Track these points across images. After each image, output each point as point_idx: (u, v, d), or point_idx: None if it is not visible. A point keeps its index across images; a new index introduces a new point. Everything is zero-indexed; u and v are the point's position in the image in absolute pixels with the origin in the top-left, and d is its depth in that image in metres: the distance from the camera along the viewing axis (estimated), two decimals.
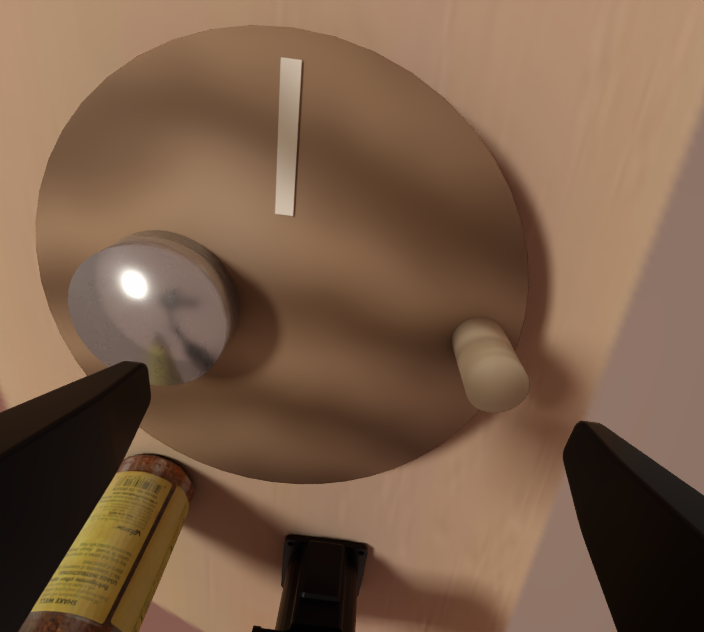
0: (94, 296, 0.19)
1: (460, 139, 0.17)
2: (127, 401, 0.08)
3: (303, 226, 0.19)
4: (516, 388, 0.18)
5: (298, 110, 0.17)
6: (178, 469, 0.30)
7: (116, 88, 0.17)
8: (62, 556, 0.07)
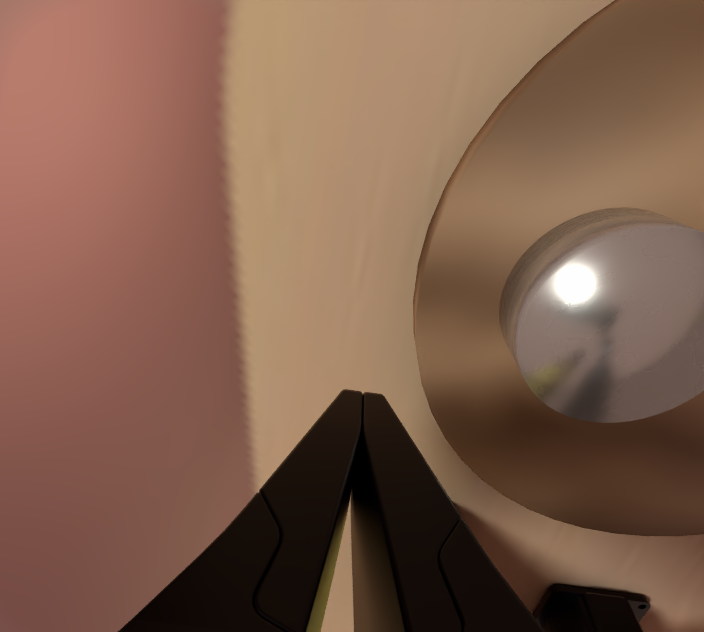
0: (573, 301, 0.13)
1: None
2: None
3: None
4: None
5: None
6: None
7: None
8: (328, 591, 0.07)
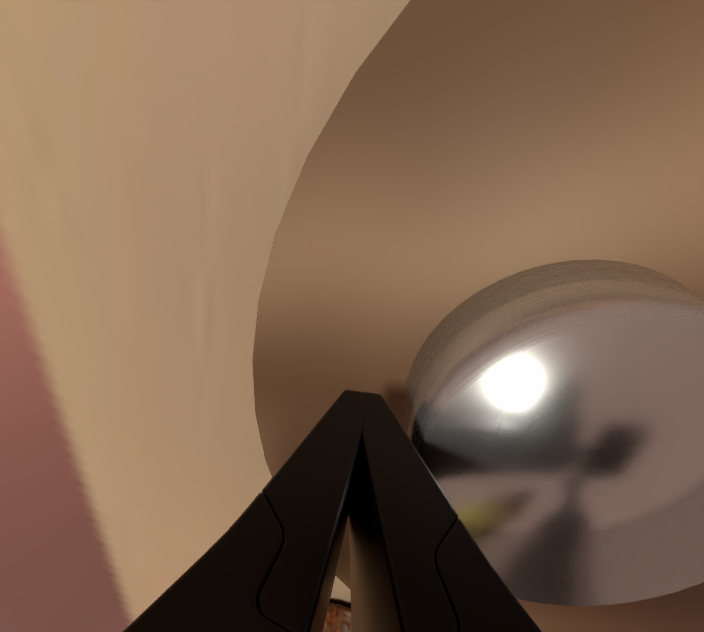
0: (500, 435, 0.07)
1: None
2: None
3: None
4: None
5: None
6: None
7: None
8: (330, 591, 0.07)
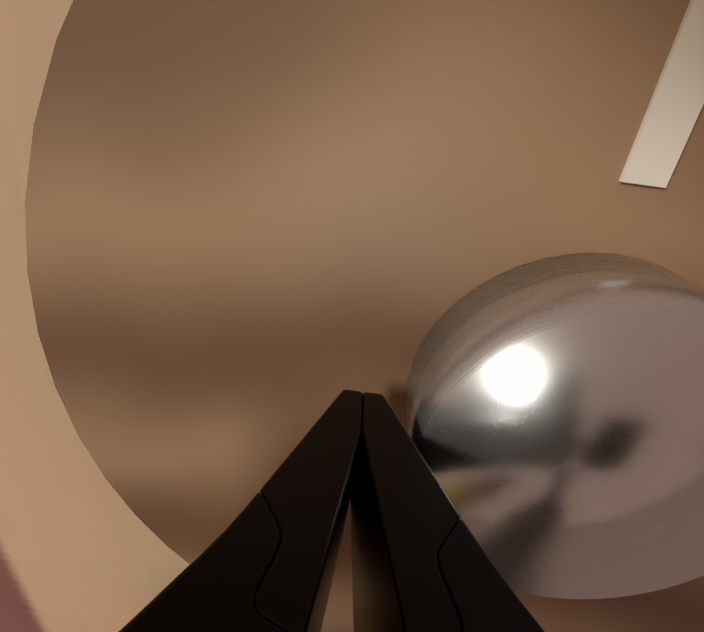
0: (499, 428, 0.07)
1: None
2: None
3: (677, 214, 0.08)
4: None
5: None
6: None
7: None
8: (329, 591, 0.07)
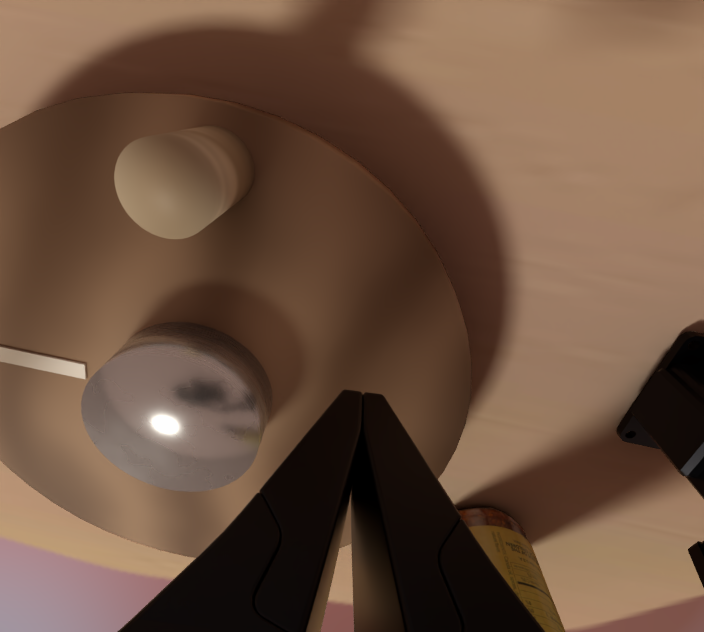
0: (147, 464, 0.18)
1: None
2: None
3: (95, 356, 0.18)
4: (160, 158, 0.11)
5: None
6: None
7: (12, 462, 0.22)
8: (328, 591, 0.07)
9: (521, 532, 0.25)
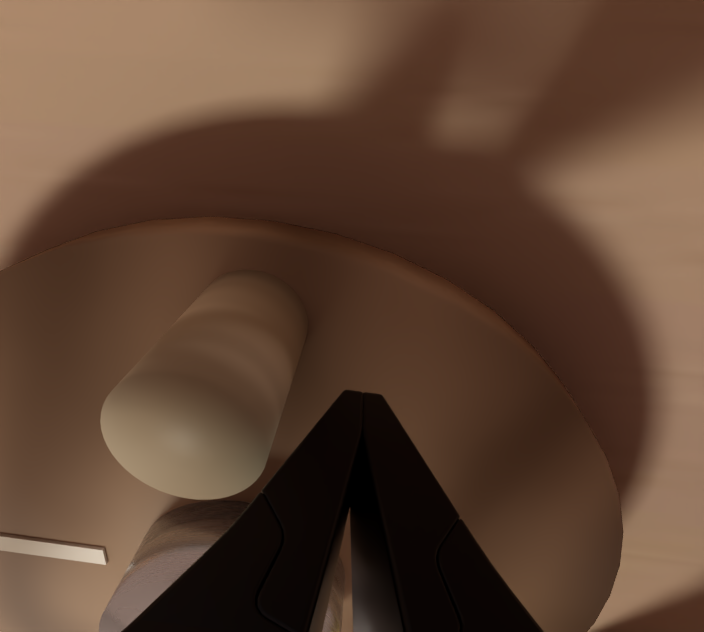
0: None
1: None
2: None
3: (115, 540, 0.14)
4: (172, 400, 0.06)
5: None
6: None
7: None
8: (330, 591, 0.07)
9: None
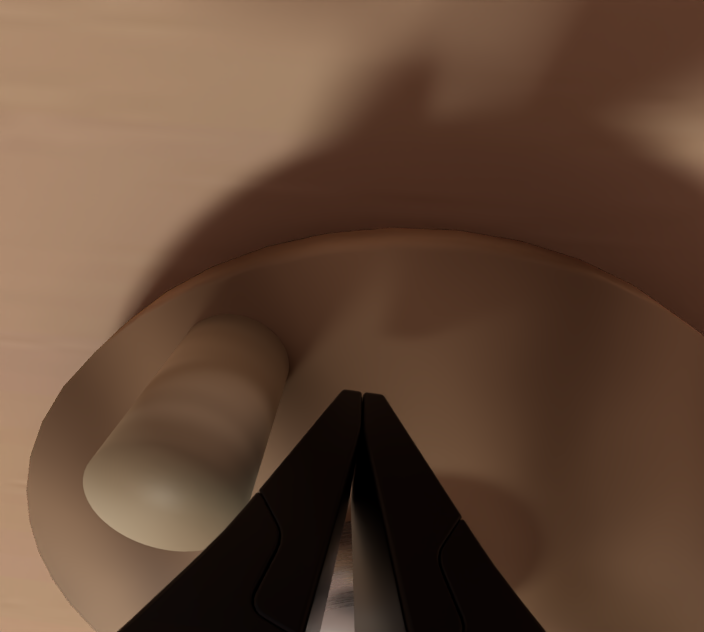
0: None
1: (48, 524, 0.14)
2: None
3: None
4: (128, 471, 0.07)
5: None
6: None
7: None
8: (328, 591, 0.07)
9: None
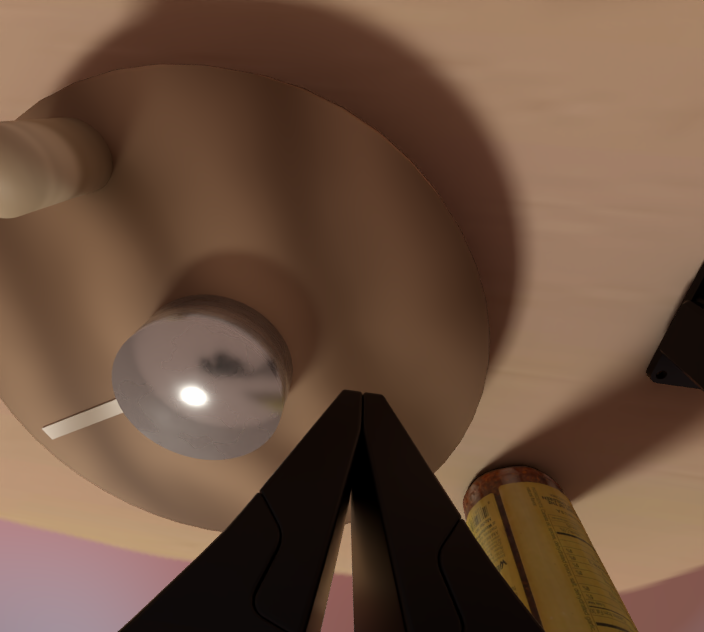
0: (209, 441, 0.19)
1: None
2: None
3: None
4: None
5: (66, 418, 0.22)
6: (486, 476, 0.25)
7: (156, 509, 0.25)
8: (328, 591, 0.07)
9: (557, 488, 0.24)
